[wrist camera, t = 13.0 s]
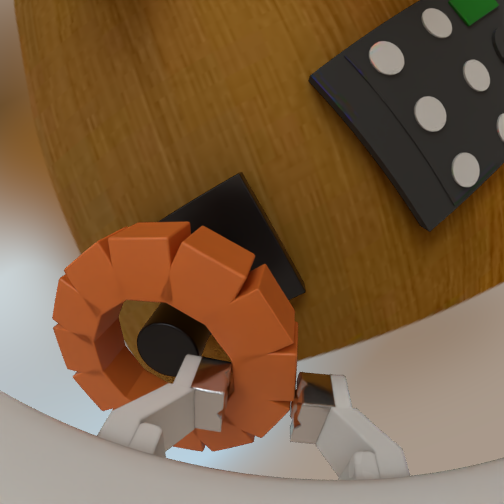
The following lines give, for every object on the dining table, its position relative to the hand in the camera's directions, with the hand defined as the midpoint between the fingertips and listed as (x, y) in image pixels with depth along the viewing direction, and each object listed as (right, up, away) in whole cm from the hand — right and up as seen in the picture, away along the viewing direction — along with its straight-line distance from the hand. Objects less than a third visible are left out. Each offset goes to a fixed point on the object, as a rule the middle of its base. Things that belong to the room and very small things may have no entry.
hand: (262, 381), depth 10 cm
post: (-2, +4, +10) cm, 11 cm away
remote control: (+18, +19, +3) cm, 26 cm away
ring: (-3, +1, +2) cm, 4 cm away
